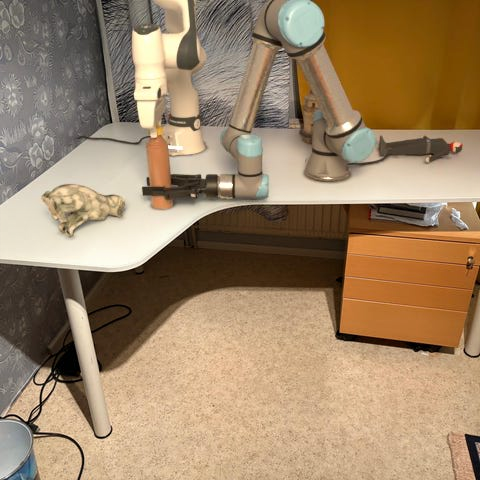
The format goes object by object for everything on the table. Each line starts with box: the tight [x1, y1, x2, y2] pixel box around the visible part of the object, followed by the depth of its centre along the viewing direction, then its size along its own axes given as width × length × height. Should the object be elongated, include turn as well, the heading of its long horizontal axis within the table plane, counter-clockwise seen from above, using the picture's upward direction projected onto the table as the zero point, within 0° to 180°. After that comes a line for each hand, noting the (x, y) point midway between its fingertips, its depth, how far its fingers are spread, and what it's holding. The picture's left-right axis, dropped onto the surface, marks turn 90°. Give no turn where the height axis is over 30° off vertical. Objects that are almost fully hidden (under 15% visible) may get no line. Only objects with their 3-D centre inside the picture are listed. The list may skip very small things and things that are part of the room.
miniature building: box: [298, 88, 320, 144], centre depth 213 cm, size 13×14×30 cm
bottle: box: [145, 135, 174, 210], centre depth 163 cm, size 7×7×25 cm
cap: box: [147, 125, 163, 135], centre depth 157 cm, size 4×4×2 cm
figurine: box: [40, 183, 126, 238], centre depth 153 cm, size 10×19×20 cm
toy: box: [378, 134, 464, 163], centre depth 203 cm, size 26×6×30 cm
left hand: (156, 134), depth 158 cm, fingers closed on cap, 4 cm apart
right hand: (144, 186), depth 166 cm, fingers closed on bottle, 7 cm apart
